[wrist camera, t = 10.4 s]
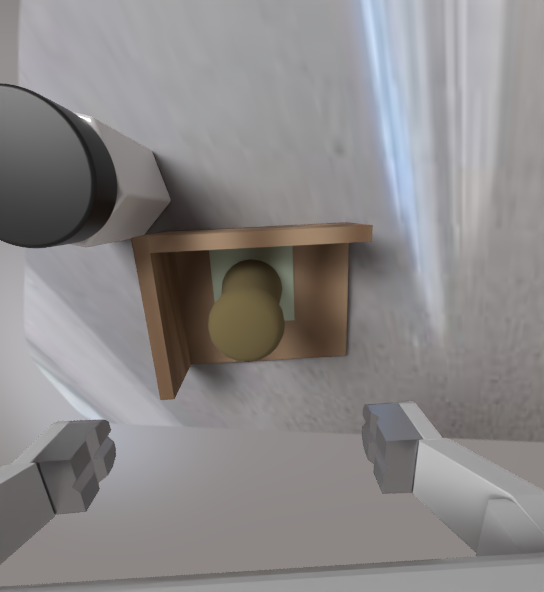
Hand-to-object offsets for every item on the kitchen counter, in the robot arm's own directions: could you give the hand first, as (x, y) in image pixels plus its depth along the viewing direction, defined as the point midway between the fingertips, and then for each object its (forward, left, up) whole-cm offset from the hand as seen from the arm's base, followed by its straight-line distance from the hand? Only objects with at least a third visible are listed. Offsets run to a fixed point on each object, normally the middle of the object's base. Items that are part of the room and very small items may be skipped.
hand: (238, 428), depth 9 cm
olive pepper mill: (0, +1, -20) cm, 20 cm away
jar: (+12, -9, -21) cm, 26 cm away
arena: (0, +2, -21) cm, 21 cm away
